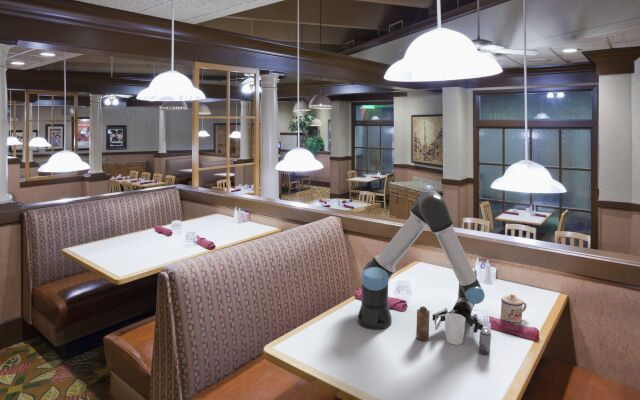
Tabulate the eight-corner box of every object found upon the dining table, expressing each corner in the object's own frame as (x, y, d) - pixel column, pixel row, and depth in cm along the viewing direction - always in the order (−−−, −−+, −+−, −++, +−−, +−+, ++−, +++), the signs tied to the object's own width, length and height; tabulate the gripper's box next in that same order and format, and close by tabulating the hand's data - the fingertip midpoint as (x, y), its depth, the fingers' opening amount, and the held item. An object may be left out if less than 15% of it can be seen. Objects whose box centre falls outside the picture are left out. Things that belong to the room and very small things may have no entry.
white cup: (465, 346, 166) (466, 323, 164) (445, 344, 167) (446, 321, 165) (463, 336, 173) (464, 314, 171) (443, 335, 175) (444, 312, 173)
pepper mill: (414, 339, 171) (415, 307, 169) (418, 334, 176) (418, 303, 173) (426, 342, 169) (428, 310, 167) (430, 336, 173) (431, 305, 171)
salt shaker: (477, 353, 160) (479, 331, 159) (479, 348, 164) (480, 327, 162) (489, 356, 159) (490, 334, 157) (490, 351, 162) (491, 329, 160)
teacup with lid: (508, 324, 183) (510, 299, 181) (495, 315, 192) (497, 291, 189) (532, 321, 186) (534, 296, 183) (518, 312, 194) (520, 288, 192)
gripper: (492, 323, 180) (486, 346, 161) (434, 311, 191) (422, 332, 173) (493, 306, 178) (487, 328, 160) (434, 296, 190) (422, 315, 172)
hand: (453, 330), depth 166 cm, fingers open, 13 cm apart
